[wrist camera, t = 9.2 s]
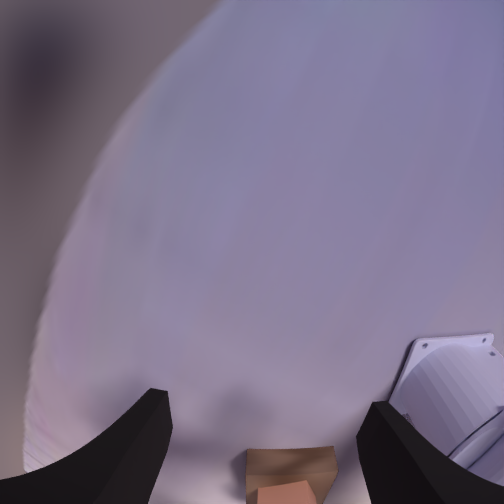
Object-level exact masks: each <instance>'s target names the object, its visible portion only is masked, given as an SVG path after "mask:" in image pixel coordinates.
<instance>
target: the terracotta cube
mask: <svg viewBox="0 0 504 504" xmlns="http://www.w3.org/2000/svg"><path fill="white" fill-rule="evenodd" d="M257 504H317V503H316V496H315V495H314V493H313V491H312V489H311V487H310V486H309V484H308V482H307V480H305V481H300V482H295V483H289V484H283V485H277V486H270V487H263V488H258V500H257Z"/></svg>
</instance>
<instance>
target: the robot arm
mask: <svg viewBox="0 0 504 504" xmlns="http://www.w3.org/2000/svg"><path fill="white" fill-rule="evenodd" d="M493 340H494V335H493V334H492V333H485V334H475V335H464V336H451V337H436V338H419V339H417V340H415V341H414V343H413V344H412V347H411V350H410V352H409V355H408V358H407V360H406V363H405V365H404V368H403V370H402V373H401V375H400V377H399V380H398V382H397V384H396V386H395V389H394V391H393V393H392V395H391V397H390V400H389V402H388V401H380V402H372V404H371V407H370V409H369V411H368V413H367V415H366V417H365V420H364V422H363V424H362V426H361V428H360V430H359V432H358V434H357V436H356V439H357V447H358V454H359V460H360V464H361V467H362V471H363V475H364V478H365V482H366V485H367V489H368V493H369V496H370V500H371V504H504V357H503V356H502V355H501V354H500V353H499V352H498V351H497V350H496V349H495V348H494V347H493V346H492V345H491V344H492V342H493ZM423 344H425V345H424V346H423ZM403 414H409V416H410V418H411V420H412V422H413V424H414V426H415V428H414V427H413V426H412V425H411V424H410V423H409V422H408V421H407V420H406V419H405V418H404V417H403V416H402V415H403ZM172 429H173V425H172V419H171V412H170V405H169V398H168V391H164V390H158V389H153V388H150V389H149V390H148V391H147V392H146V393H145V394H144V395H143V396H142V397H141V398H140V399H139V400H138V401H137V402H136V403H135V404H134V405H133V406H132V407H131V408H130V409H129V410H128V411H127V412H126V413H124V414H123V415H122V416H121V417H120V418H119V419H118V420H117V421H115V422H114V423H113V424H112V425H111V426H110V427H109V428H107V429H106V430H105V431H103V432H102V433H101V434H100V435H98V436H97V437H96V438H94V439H93V440H92V441H90V442H89V443H87V444H86V445H85V446H83V447H81V448H80V449H78V450H77V451H75V452H73V453H72V454H70V455H68V456H66V457H64V458H62V459H61V460H59V461H57V462H55V463H52V464H50V465H48V466H46V467H43V468H40V469H38V470H35V471H32V472H29V473H26V474H24V475H20V476H16V477H11V478H7V479H2V480H0V504H148V501H149V498H150V495H151V493H152V490H153V487H154V485H155V482H156V479H157V477H158V474H159V472H160V469H161V466H162V464H163V461H164V458H165V456H166V453H167V450H168V446H169V442H170V438H171V433H172Z"/></svg>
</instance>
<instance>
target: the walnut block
mask: <svg viewBox="0 0 504 504" xmlns="http://www.w3.org/2000/svg"><path fill="white" fill-rule="evenodd" d="M337 473H338V466H337V461H336V456H335V451H334V447H333V446H329V447H317V448H301V449H247V460H246V504H257V500H258V488H263V487H270V486H277V485H283V484H289V483H295V482H300V481H305V480H307V482H308V484H309V486H310V487H311V489H312V491H313V493H314V495H315V496H316V503H317V504H323V502H324V500H325V498H326V496H327V494H328V492H329V490H330V488H331V486H332V484H333V482H334V480H335V478H336V475H337Z"/></svg>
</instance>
